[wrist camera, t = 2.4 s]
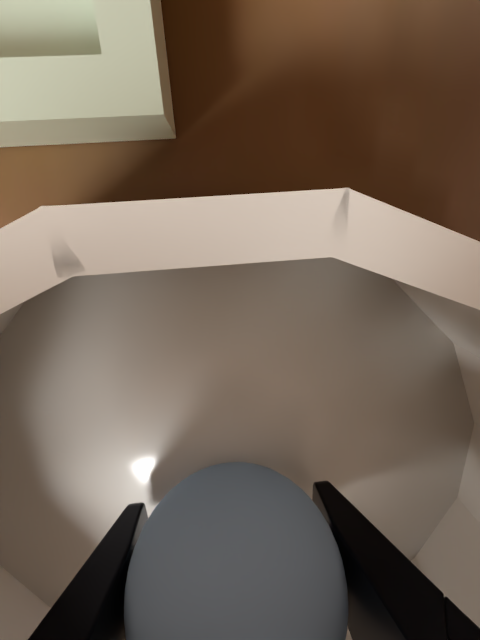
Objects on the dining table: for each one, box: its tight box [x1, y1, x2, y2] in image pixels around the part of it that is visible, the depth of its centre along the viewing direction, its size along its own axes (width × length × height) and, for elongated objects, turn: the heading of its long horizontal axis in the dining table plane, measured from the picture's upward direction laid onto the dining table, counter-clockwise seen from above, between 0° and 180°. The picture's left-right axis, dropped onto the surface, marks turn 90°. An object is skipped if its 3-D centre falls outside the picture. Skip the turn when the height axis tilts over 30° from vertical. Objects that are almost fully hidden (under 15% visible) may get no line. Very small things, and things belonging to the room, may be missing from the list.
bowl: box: [0, 187, 480, 640], centre depth 8 cm, size 15×15×4 cm
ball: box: [124, 462, 348, 640], centre depth 7 cm, size 5×5×5 cm
